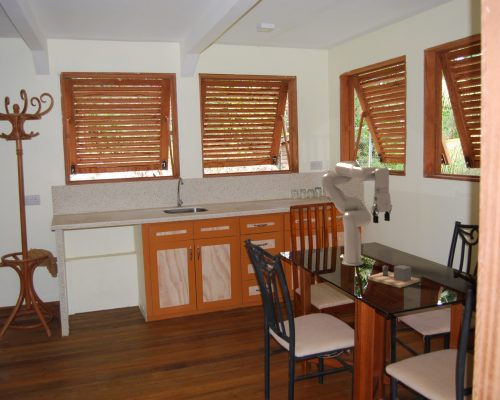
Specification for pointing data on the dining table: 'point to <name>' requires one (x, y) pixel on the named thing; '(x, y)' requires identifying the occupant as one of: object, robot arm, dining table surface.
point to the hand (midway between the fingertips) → (381, 221)
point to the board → (391, 278)
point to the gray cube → (402, 273)
